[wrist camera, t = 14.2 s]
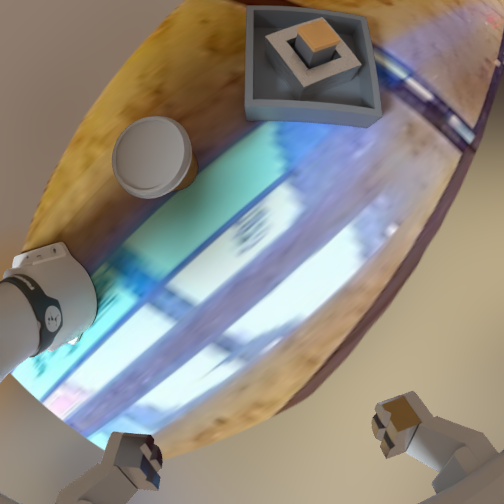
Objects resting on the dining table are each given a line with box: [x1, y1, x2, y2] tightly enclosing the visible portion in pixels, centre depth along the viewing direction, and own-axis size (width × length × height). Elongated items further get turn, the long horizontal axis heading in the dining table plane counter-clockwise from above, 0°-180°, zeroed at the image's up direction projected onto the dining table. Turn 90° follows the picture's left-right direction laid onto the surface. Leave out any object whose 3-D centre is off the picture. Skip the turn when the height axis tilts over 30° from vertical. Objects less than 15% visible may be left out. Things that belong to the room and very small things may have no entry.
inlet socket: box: [265, 17, 362, 101], centre depth 33 cm, size 9×9×6 cm
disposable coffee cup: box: [112, 116, 198, 199], centre depth 34 cm, size 10×10×12 cm
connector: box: [294, 20, 340, 70], centre depth 30 cm, size 4×4×8 cm
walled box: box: [245, 6, 382, 128], centre depth 34 cm, size 18×18×6 cm
